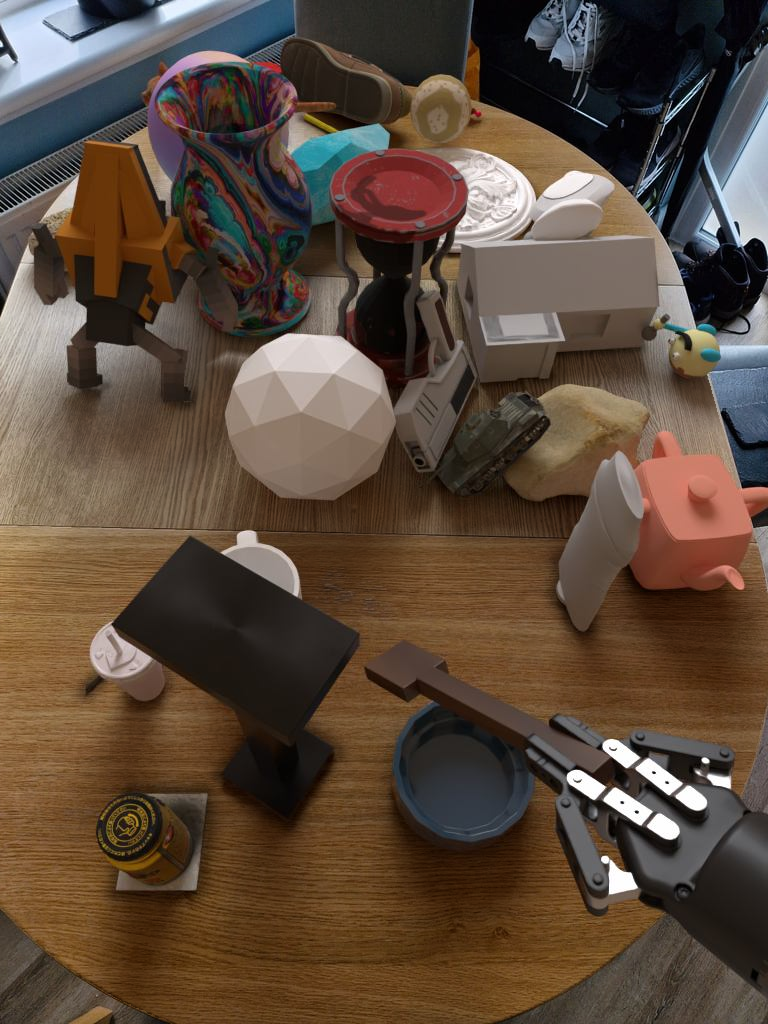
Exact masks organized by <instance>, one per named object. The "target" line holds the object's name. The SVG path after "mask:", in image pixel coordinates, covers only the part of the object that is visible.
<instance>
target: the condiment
mask: <svg viewBox="0 0 768 1024" xmlns="http://www.w3.org/2000/svg"><path fill="white" fill-rule="evenodd" d="M207 801H208V793H207V792H206V793H143V792H137V791H134V792H133V791H131V792H124V793H123V794H119V795H118V796H116V797H115V798H113V799H111V800H109V802H107V804H106V806H104V808H103V810H102V811H101V812H100V813H99V815H98V820H97V823H96V827H95V837H96V839H97V841H96V842H97V845H98V846H99V848H100V850H101V851H102V853H103V855H104V857H105V858H106V859H107V861H108V862H109V863H110V864H111V866H112V867H114V868H116V869H118V870H119V871H118V877H117V882H116V887H115V891H197V887H198V879H199V873H200V864H201V856H202V846H203V839H204V838H203V837H204V828H205V827H204V826H205V821H206V811H207Z"/></svg>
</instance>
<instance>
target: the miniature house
mask: <svg viewBox="0 0 768 1024" xmlns="http://www.w3.org/2000/svg"><path fill="white" fill-rule="evenodd" d="M460 245H461V253H460V256H459V262H458V263H459V264H458V270H457V279H456V287H457V291H458V295H459V301H460V304H461V308H462V312H463V316H464V321H465V324H466V329H467V334H468V337H469V341H470V346H471V350H472V353H473V357H474V362H475V365H476V370H477V375H478V378H479V382H480V383H496V382H511V381H512V382H513V381H518V379H526V378H538V379H540V380H542V379H549V378H550V374H551V371H552V368H553V365H554V361H555V358H556V355H557V353H560V352H562V353H563V352H578V351H580V352H581V351H595V350H611V349H628V348H641V347H642V345H643V342H644V339H643V338H642V335H641V333H642V330H643V329H644V328H645V327H647V326H651V324H652V321H653V319H654V316H655V315H656V312H657V309H658V308H660V295H659V294H660V293H659V280H658V267H657V257H656V256H657V254H656V242H655V237H651V236H642V235H631V234H621V235H601V236H600V235H598V236H589V237H580V238H578V239H575V240H541V241H536V240H535V239H534V240H523V239H516V240H515V239H513V240H511V241H492V242H472V243H460Z"/></svg>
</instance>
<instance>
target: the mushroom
mask: <svg viewBox="0 0 768 1024" xmlns="http://www.w3.org/2000/svg"><path fill="white" fill-rule="evenodd" d="M412 97H413V98H412V100H411V108H410V113H409V114H410V119H411V123H412V125H413V127H414V130H415V132H417V133H418V134H419V135H420V137H422V139H423V140H426V141H427V142H429V143H432V144H439V145H441V144H447V143H450V142H453V141H454V140H457V138H459V137H460V136H461V135H462V134H463V132H465V131H466V129H467V126H468V125H469V122H470V120H471V116H472V115H471V110H472V108H473V107H472V100H471V95H470V93H469V92H468V89H467V87H466V86H465V85H464V84H463V83H462V82H461V80H459V79H457V78H456V77H454V76H452V75H448V74H442V73H441V74H435V75H432V76H430V77H428V78H427V79H425V80H423V81H422V82H421V83H420V84H419V86H418V87H417V88H416V89H415V91H414V93H413V95H412Z"/></svg>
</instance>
